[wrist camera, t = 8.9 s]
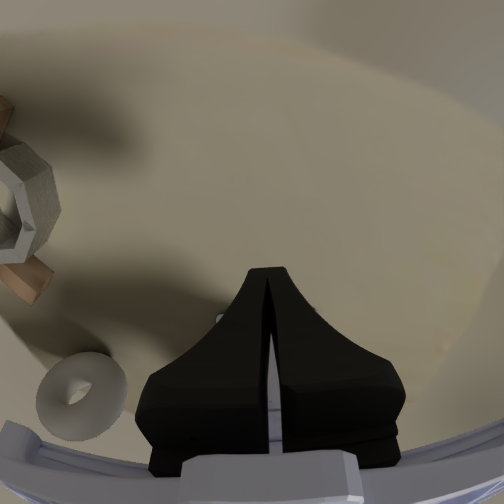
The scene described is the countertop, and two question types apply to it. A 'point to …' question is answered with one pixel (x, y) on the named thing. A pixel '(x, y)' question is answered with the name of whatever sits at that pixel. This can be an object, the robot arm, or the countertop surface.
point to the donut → (91, 405)
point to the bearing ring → (27, 203)
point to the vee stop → (32, 271)
